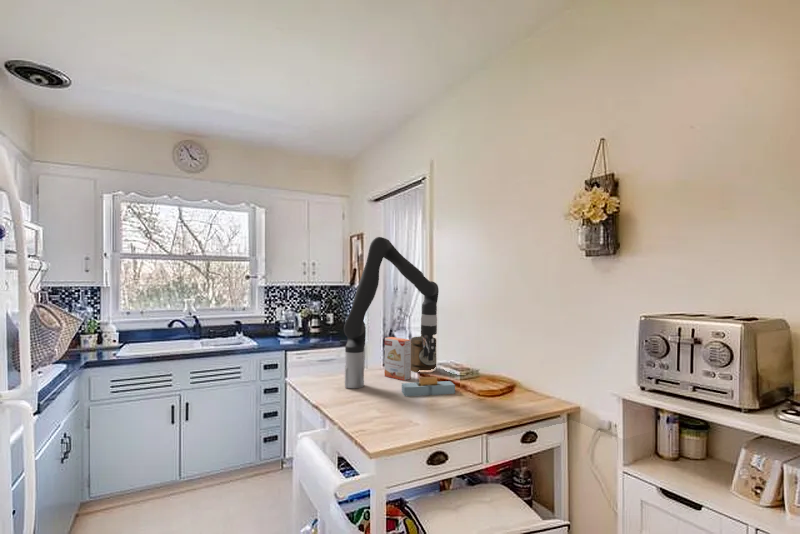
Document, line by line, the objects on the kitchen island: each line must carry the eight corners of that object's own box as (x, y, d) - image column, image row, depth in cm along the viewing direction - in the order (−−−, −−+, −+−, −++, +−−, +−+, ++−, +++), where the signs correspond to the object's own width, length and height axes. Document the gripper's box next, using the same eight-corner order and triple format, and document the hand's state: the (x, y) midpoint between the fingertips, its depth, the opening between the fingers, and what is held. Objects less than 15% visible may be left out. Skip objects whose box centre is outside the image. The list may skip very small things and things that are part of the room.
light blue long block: (404, 396, 193) (404, 387, 193) (401, 391, 200) (401, 383, 200) (454, 393, 198) (455, 385, 198) (450, 389, 205) (450, 381, 205)
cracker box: (383, 376, 228) (384, 337, 228) (391, 374, 233) (391, 336, 233) (403, 381, 219) (404, 340, 219) (411, 378, 224) (411, 339, 224)
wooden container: (425, 374, 233) (425, 334, 233) (405, 370, 243) (405, 331, 243) (441, 370, 244) (441, 331, 244) (421, 365, 254) (422, 329, 254)
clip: (420, 392, 197) (420, 378, 197) (419, 391, 200) (419, 377, 200) (437, 391, 199) (437, 378, 199) (435, 390, 202) (435, 376, 202)
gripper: (417, 322, 205) (416, 355, 205) (425, 326, 191) (424, 362, 191) (432, 321, 207) (431, 355, 207) (441, 326, 193) (440, 361, 193)
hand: (428, 358), depth 199 cm, fingers open, 8 cm apart
